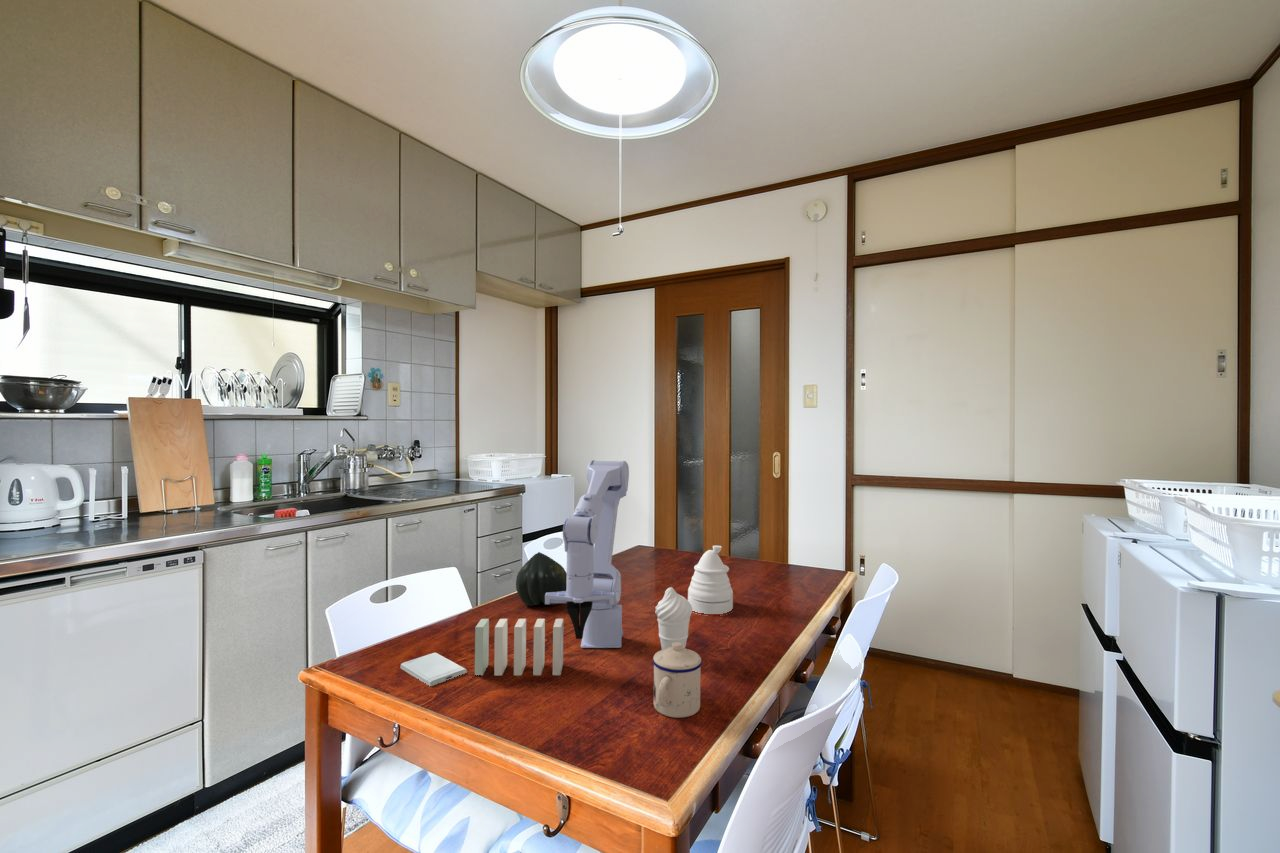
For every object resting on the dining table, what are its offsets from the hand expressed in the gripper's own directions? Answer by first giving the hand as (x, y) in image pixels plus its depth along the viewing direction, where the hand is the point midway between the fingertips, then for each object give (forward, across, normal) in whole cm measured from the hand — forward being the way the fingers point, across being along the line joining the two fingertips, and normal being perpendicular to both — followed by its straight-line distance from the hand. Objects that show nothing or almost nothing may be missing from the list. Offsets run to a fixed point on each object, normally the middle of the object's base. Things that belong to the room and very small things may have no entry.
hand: (579, 637), depth 117 cm
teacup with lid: (+7, +18, -17) cm, 26 cm away
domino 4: (+7, -8, 0) cm, 11 cm away
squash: (+7, -14, +45) cm, 48 cm away
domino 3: (+7, -12, 0) cm, 14 cm away
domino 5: (+7, -4, 0) cm, 8 cm away
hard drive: (+8, -31, 0) cm, 32 cm away
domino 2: (+7, -16, 0) cm, 18 cm away
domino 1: (+7, -20, 0) cm, 22 cm away
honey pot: (+7, +35, +40) cm, 53 cm away
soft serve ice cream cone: (+7, +20, +5) cm, 22 cm away
